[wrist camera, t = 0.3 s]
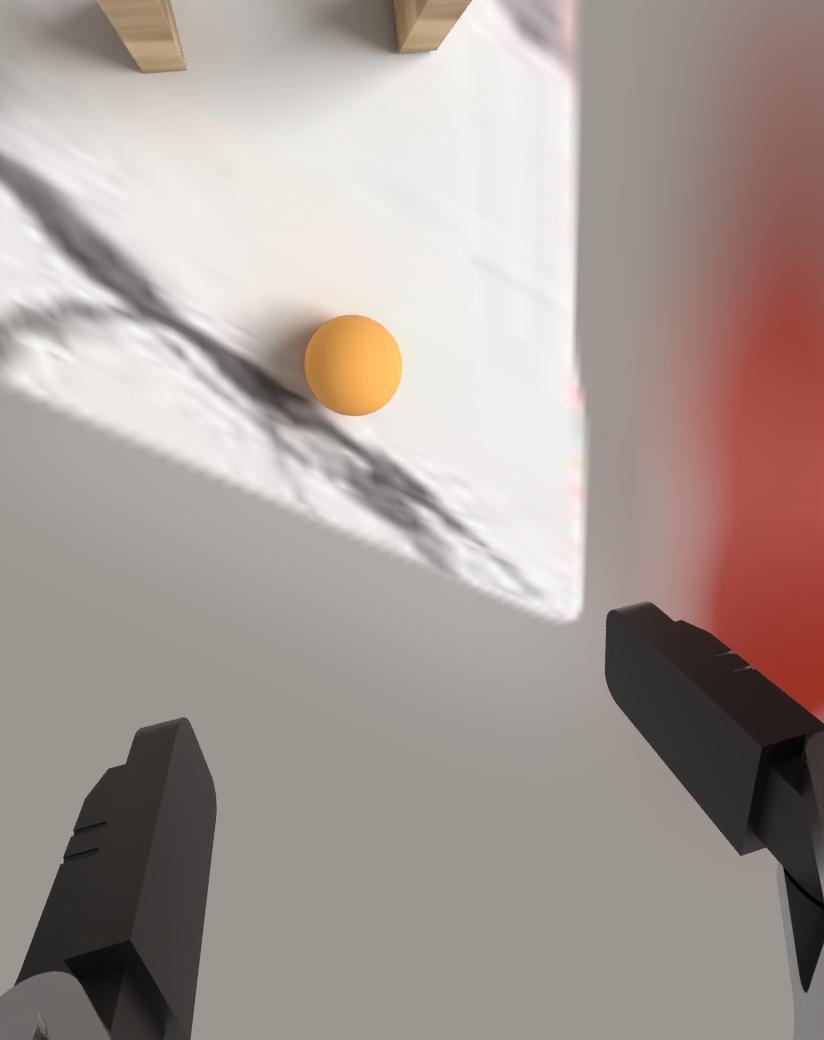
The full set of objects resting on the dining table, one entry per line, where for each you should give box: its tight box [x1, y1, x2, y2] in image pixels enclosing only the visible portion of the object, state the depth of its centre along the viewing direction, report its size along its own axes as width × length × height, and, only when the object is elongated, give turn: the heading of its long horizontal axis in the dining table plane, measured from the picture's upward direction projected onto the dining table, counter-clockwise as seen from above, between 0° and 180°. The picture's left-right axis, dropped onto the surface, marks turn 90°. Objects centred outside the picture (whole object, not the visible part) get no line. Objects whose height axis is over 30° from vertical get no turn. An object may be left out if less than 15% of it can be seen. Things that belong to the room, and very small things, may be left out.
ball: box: [304, 315, 402, 416], centre depth 31 cm, size 6×6×6 cm
